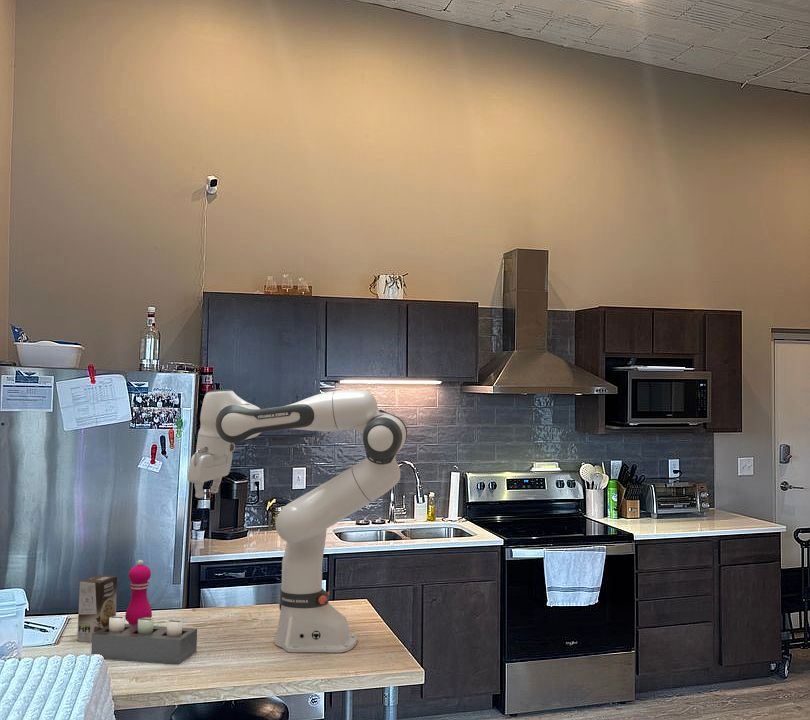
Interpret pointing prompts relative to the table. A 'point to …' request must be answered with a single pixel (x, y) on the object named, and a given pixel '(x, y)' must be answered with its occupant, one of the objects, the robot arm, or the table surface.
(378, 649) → the table surface
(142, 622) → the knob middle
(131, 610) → the pepper mill
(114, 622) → the small cream cup
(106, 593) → the brown food box
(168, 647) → the grey rectangular holder block
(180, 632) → the cream white small cup
